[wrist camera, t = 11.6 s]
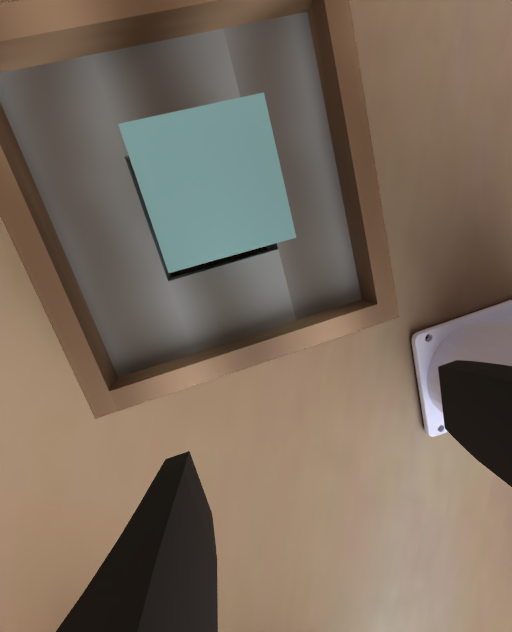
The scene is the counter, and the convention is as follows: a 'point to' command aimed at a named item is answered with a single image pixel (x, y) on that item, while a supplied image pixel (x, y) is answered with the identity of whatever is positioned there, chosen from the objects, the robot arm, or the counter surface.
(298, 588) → the counter surface
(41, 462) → the counter surface
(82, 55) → the bore box
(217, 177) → the peg
